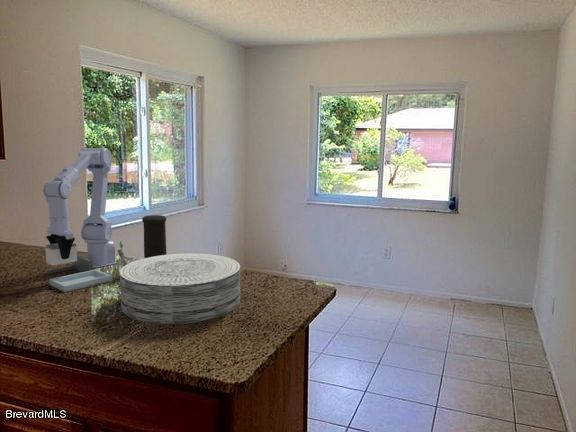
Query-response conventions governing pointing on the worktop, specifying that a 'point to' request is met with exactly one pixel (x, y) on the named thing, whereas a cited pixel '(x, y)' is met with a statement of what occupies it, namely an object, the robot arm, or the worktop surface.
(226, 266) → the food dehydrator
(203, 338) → the worktop surface
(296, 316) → the worktop surface
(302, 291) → the worktop surface
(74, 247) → the block
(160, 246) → the container
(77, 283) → the tray
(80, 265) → the bay
